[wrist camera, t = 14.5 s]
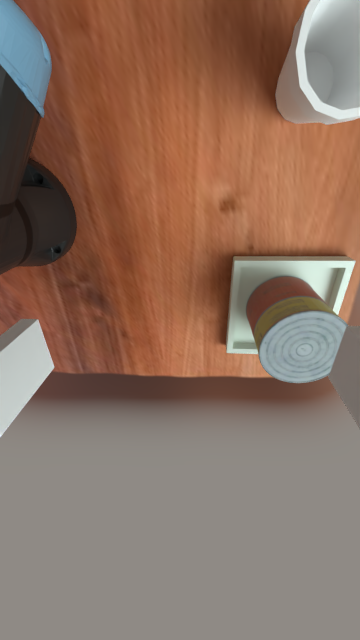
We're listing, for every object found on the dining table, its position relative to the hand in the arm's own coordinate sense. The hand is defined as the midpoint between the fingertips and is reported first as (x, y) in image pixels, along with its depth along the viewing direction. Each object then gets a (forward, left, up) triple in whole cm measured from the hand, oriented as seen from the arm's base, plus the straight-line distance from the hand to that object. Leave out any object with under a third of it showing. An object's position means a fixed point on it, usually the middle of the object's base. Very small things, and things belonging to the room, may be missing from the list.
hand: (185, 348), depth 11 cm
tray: (+14, -13, -31) cm, 36 cm away
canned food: (+14, -13, -30) cm, 36 cm away
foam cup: (+12, +15, -31) cm, 36 cm away
